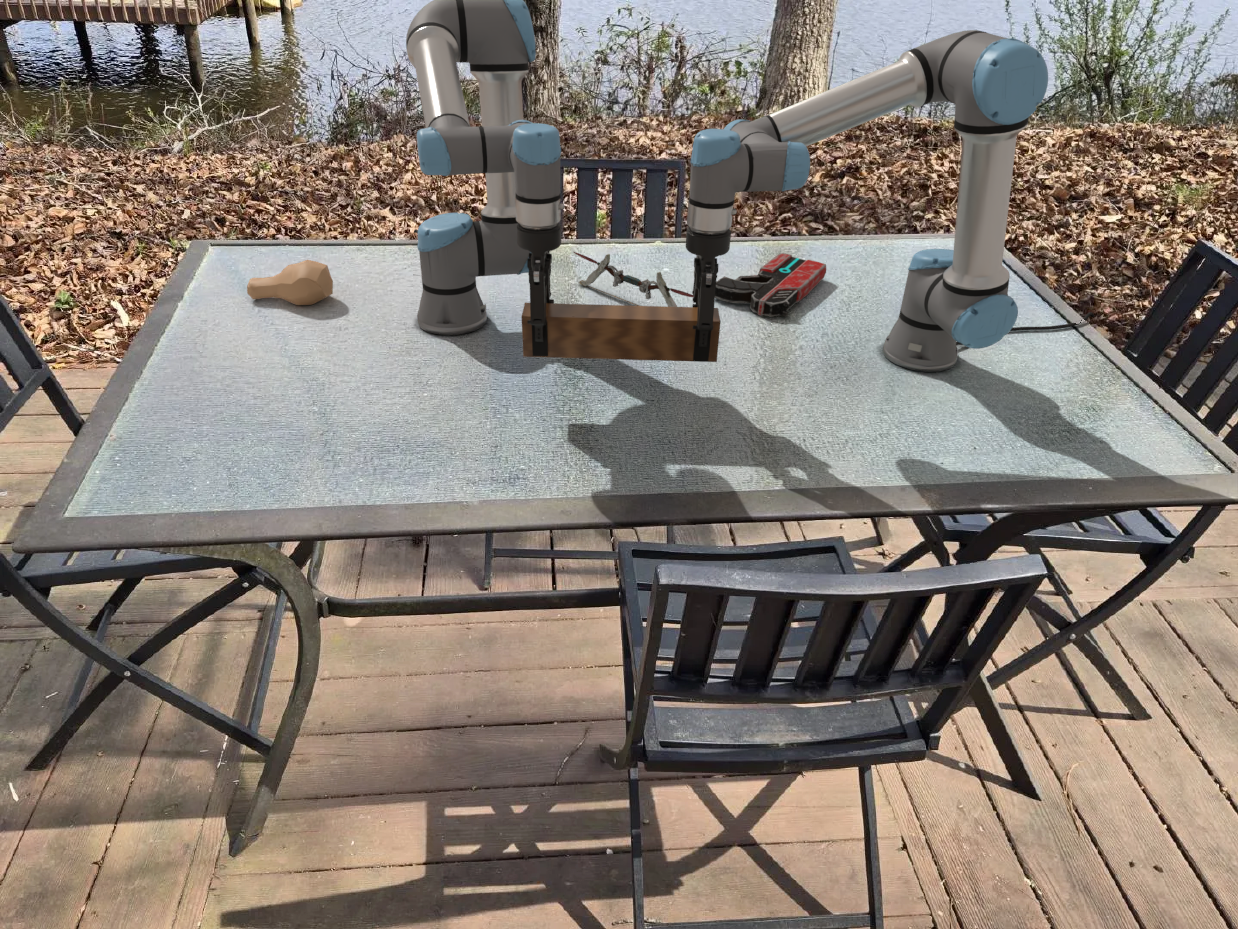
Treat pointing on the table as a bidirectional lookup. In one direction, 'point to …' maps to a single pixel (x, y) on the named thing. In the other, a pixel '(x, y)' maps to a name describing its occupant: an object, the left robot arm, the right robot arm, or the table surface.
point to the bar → (620, 332)
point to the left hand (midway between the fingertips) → (541, 346)
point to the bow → (631, 281)
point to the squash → (295, 284)
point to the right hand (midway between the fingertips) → (699, 348)
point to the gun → (773, 285)
